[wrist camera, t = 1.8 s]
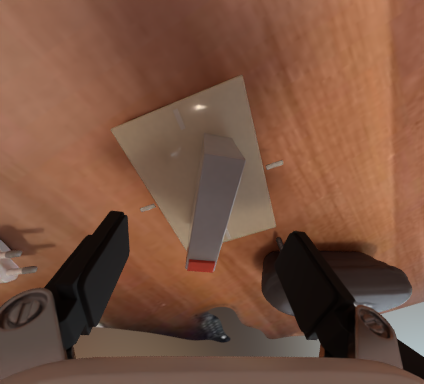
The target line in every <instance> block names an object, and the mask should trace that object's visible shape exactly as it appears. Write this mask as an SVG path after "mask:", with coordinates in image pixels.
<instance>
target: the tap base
mask: <svg viewBox="0 0 424 384" xmlns="http://www.w3.org/2000/svg"><path fill="white" fill-rule="evenodd" d="M111 131H112V133H113V135H114V136H115V138H116V139H117V141H118V143H119V144H120V146H121V147H122V149H123V151H124V152H125V154H126V155H127V157H128V159H129V160H130V162H131V163H132V165H133V167H134V168H135V170H136V171H137V173H138V174H139V176H140V178H141V179H142V181H143V182H144V184H145V186H146V187H147V189H148V190H149V192H150V194H151V195H152V197H153V198H154V200H155V202H156V203H157V205H158V206H159V208H160V210H161V211H162V213H163V214H164V216H165V217H166V219H167V221H168V222H169V224H170V225H171V227H172V229H173V230H174V232H175V233H176V235H177V237H178V238H179V240H180V241H181V243H182V245H183V246H184V248H185V249H186V251H187V246H188V235H189V225H190V218H191V212H192V205H193V199H194V192H195V186H196V179H197V173H198V166H199V160H200V153H201V147H202V140H203V134H204V133H207V134H213V135H218V136H224V137H229V138H232V139H233V141H234V142H235V144H236V145H237V147H238V148H239V150H240V152H241V153H242V155H243V156H244V158H245V159H246V162H245V166H244V169H243V173H242V176H241V180H240V183H239V187H238V190H237V193H236V197H235V200H234V204H233V207H232V211H231V214H230V218H229V221H228V225H227V228H226V231H225V235H224V238H223V242H227V241H230V240H233V239H237V238H240V237H244V236H247V235H250V234H254V233H257V232H261V231H264V230H268V229H271V228H274V227H276V223H275V219H274V214H273V210H272V205H271V201H270V196H269V191H268V187H267V182H266V178H265V173H264V169H263V164H262V160H261V155H260V151H259V146H258V142H257V137H256V133H255V128H254V124H253V119H252V115H251V110H250V106H249V101H248V97H247V92H246V88H245V83H244V79H243V75H239V76H237V77H234V78H232V79H229V80H227V81H225V82H222V83H220V84H217V85H215V86H213V87H210V88H208V89H205V90H203V91H201V92H198V93H196V94H193V95H191V96H189V97H186V98H184V99H181V100H179V101H177V102H174V103H172V104H169V105H167V106H164V107H162V108H160V109H157V110H155V111H152V112H150V113H148V114H145V115H143V116H140V117H138V118H136V119H133V120H131V121H128V122H126V123H124V124H121V125H119V126H116V127H114V128H112V129H111ZM280 165H283V160H280V161H277V162H275V163H272V164H269V165H266V169H267V170H268V169H271V168H274V167H277V166H280ZM155 207H156V206H155V205H154V204H151V205H148V206H145V207H142V208H140V210H141V212H143V211H146V210H149V209H152V208H155ZM223 242H222V243H223Z"/></svg>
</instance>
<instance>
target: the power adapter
mask: <svg viewBox="0 0 424 384" xmlns="http://www.w3.org/2000/svg"><path fill="white" fill-rule="evenodd" d="M21 255H22V250H10V249H9V248H8V247H7V246H6V245H5V243H4V242H3V241H1V240H0V283H7V282H10V281H12V280H15V279H16V278H17V277H18V274H28V273H34V272H36V271H37V269H38V268H37V266H30V267H24V268H19V267H18V266H17V265H16V264H15V263H14V262H13V261H12V260H11V258H12V257H19V256H21Z"/></svg>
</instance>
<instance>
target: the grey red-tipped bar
mask: <svg viewBox="0 0 424 384" xmlns="http://www.w3.org/2000/svg"><path fill="white" fill-rule="evenodd" d="M245 162H246V159H245V158H244V156H243V155H242V153H241V152H240V150H239V148H238V147H237V145H236V144H235V142H234V141H233V139H232V138H229V137H224V136H218V135H213V134H207V133H204V134H203V140H202V147H201V153H200V160H199V166H198V173H197V179H196V186H195V192H194V199H193V205H192V212H191V218H190V225H189V235H188V246H187V256H186V267H185V268H186V269H187V271H198V272H211V273H213V271H214V269H215V266H216V263H217V259H218V256H219V252H220V249H221V245H222V242H223V238H224V235H225V231H226V228H227V225H228V221H229V218H230V214H231V211H232V207H233V204H234V200H235V197H236V193H237V190H238V187H239V183H240V180H241V176H242V173H243V169H244V166H245Z"/></svg>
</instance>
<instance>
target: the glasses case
mask: <svg viewBox="0 0 424 384" xmlns="http://www.w3.org/2000/svg"><path fill="white" fill-rule="evenodd" d="M276 242H277V244H278V247H279V249H280V251H276V252H272V253H270V254H268V255H267V256H266V257H265V259H264V262H263V272H262V292H263V295H264V297H265V298H266V300H267V301H268V302H269V303H270V304H271V305H272V306H273V307H275V308H276V309H277V310H279V311H281V312H283V313H286V314H288V315H292V316H294V313H293V311H292V309H291V306H290V304H289V302H288V299H287V297H286V294H285V292H284V290H283V287H282V285H281V282H280V280H279V278H278V275H277V273H276V271H275V267H274V264H275V261H276V259H277V257H278V256H279V254H280V252H281V250H282V248H283V246H284V245H283V243H282V240H281V238H280V237H277V238H276ZM319 252H320V253H321V255H322V256H323V257H324V259H325V260H326V261H327V263H328V264H329V265H330V267H331V268H332V269H333V271H334V272H335V273H336V275H337V276H338V277H339V279H340V280H341V281H342V283H343V284H344V285H345V287H346V288H347V289H348V291H349V292H350V293H351V295H352V296H353V297H354V299H355V300H356V301H355V302H354V303H353V304H354V305H355V307H356V306H358V305H365V306H368V307H370V308H372V309H374V310H375V311H377V312H382V311H385V310H389V309H392V308H394V307H397V306H399V305H401V304H403V303H404V302H405V301H407V300H408V299H409V298H410V296H411V294H412V286H411V284H410V282H409V281H408V277H407V276H406V274H405V273H404V272H403V271H402V270H400V269H398V268H396V267H394V266H390V265H388V264H386V263H384V262H381V261H378V260H376V259H374V258H372V257H371V256H369V255H366V254H364V253H361V252H338V251H319Z"/></svg>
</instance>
